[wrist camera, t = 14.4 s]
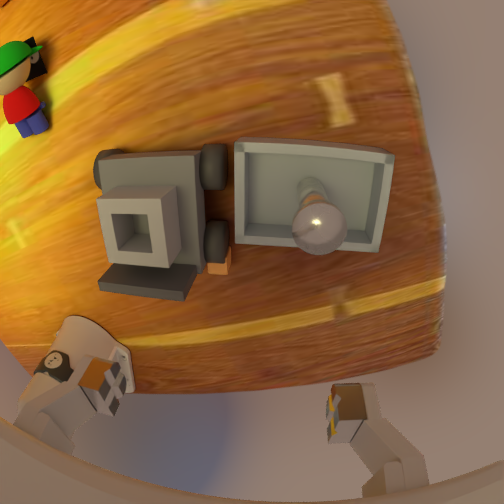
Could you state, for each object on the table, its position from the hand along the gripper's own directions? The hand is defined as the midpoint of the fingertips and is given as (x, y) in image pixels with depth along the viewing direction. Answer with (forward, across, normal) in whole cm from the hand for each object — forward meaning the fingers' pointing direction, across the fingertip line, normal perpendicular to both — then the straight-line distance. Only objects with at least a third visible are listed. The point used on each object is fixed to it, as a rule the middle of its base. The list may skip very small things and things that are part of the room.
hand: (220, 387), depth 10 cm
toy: (+28, +33, -16) cm, 46 cm away
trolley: (+27, +12, +2) cm, 30 cm away
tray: (+27, -5, 0) cm, 28 cm away
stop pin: (+26, -5, 0) cm, 27 cm away
